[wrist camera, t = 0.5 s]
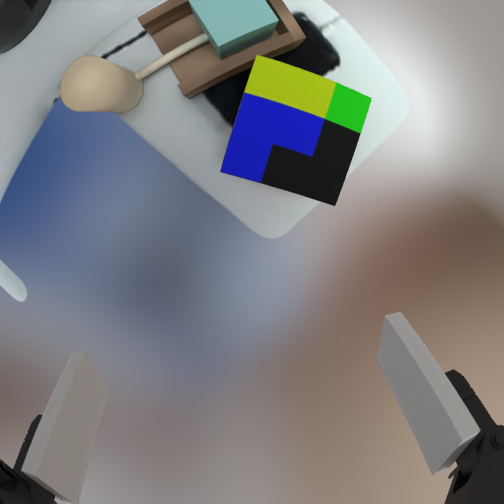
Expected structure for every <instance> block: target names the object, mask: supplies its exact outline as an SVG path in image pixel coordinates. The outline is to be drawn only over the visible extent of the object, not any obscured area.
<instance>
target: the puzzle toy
mask: <svg viewBox="0 0 504 504" xmlns="http://www.w3.org/2000/svg"><path fill="white" fill-rule="evenodd" d="M371 99H372V98H370V97H368V96H366V95H363V94H361V93H359V92H357V91H355V90H352V89H350V88H348V87H346V86H343V85H341V84H339V83H336V82H334V81H331V80H329V79H326V78H324V77H321V76H319V75H316V74H313V73H311V72H308V71H305V70H303V69H300V68H297V67H294V66H291V65H288V64H285V63H282V62H279V61H276V60H273V59H269V58H266V57H263V56H259V55H257V56H256V59H255V61H254V64H253V67H252V70H251V73H250V76H249V79H248V82H247V85H246V88H245V91H244V94H243V97H242V100H241V103H240V106H239V110H238V113H237V116H236V119H235V122H234V126H233V129H232V132H231V136H230V139H229V142H228V146H227V149H226V153H225V156H224V160H223V163H222V167H221V171H220V172H222V173H226V174H229V175H233V176H237V177H241V178H244V179H248V180H251V181H255V182H258V183H262V184H265V185H269V186H272V187H276V188H279V189H282V190H286V191H289V192H292V193H296V194H299V195H302V196H305V197H308V198H312V199H315V200H318V201H321V202H324V203H327V204H330V205H333V206H335V205H336V202H337V200H338V197H339V194H340V191H341V189H342V186H343V183H344V180H345V178H346V175H347V172H348V169H349V166H350V163H351V161H352V158H353V155H354V152H355V149H356V146H357V143H358V140H359V137H360V134H361V131H362V128H363V125H364V122H365V119H366V115H367V112H368V109H369V106H370V103H371Z"/></svg>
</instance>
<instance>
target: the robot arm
mask: <svg viewBox="0 0 504 504" xmlns="http://www.w3.org/2000/svg"><path fill="white" fill-rule="evenodd" d="M50 1H51V0H0V53H3V52H5V51H8V50H9V49H11V48H13V47H14V46H16V45H17V44H18V43H19V42H21V41H22V40H23V39H24V38H25V37H26V36H27V35H28V34H29V33H30V32H31V30H32V29H33V28H34V27H35V26H36V24H37V23H38V22H39V20H40V19H41V17H42V16H43V14H44V12H45V11H46V9H47V7H48V5H49V3H50ZM377 361H378V363H379V365H380V367H381V369H382V371H383V373H384V375H385V377H386V379H387V381H388V382H389V385H390V387H391V389H392V391H393V392H394V394H395V397H396V398H397V401H398V403H399V405H400V407H401V409H402V411H403V413H404V415H405V417H406V419H407V421H408V423H409V425H410V427H411V429H412V432H413V433H414V435H415V437H416V440H417V442H418V444H419V446H420V449H421V451H422V453H423V455H424V458H425V460H426V462H427V464H428V466H429V469H430V471H431V473H432V475H434V474H437V473H439V472H441V471H443V470H445V469H447V468H449V467H450V466H451V465H452V464H453V463H454V462H455V461H456V463H457V465H458V466H457V467H456V468H455V469H454V470H453V471H452V472H451V473H450V475H449V477H448V478H451V477H452V476H453V475H454V477H453V480H452V484H451V486H450V490H449V492H448V495H447V498H446V501H445V503H444V504H504V426H502V425H497V424H496V423H495V422H494V421H493V419H492V418H491V417H490V415H489V413H488V412H487V410H486V408H485V407H484V405H483V404H482V402H481V401H480V399H479V398H478V396H477V395H475V392H474V390H473V389H472V388H470V385H469V383H468V382H467V381H466V379H465V378H464V376H462V375H461V374H460V373H458V372H457V371H455V370H454V369H453V370H451V371H448V372H446V373H444V372H443V370H442V369H441V367H440V366H439V365H438V363H437V362H436V360H435V359H434V357H433V356H432V354H431V353H430V352H429V350H428V349H427V347H426V346H425V345H424V343H423V342H422V341H421V339H420V338H419V336H418V335H417V333H416V332H415V331H414V329H413V328H412V327H411V325H410V324H409V323H408V321H407V320H406V319H405V317H404V316H403V315H402V313H401V312H398V313H394V314H389V315H386V316H385V320H384V326H383V332H382V337H381V343H380V348H379V353H378V358H377ZM108 394H109V389H108V388H107V386H106V384H105V383H104V381H103V380H102V378H101V376H100V375H99V373H98V371H97V369H96V368H95V366H94V364H93V363H92V361H91V359H90V357H89V355H88V353H87V352H86V351H73V353H72V355H71V357H70V359H69V361H68V363H67V365H66V367H65V369H64V371H63V373H62V375H61V377H60V379H59V381H58V383H57V385H56V387H55V389H54V391H53V394H52V396H51V398H50V400H49V402H48V405H47V407H46V409H45V411H44V414H43V415H38V416H37V417H36V418H35V419H34V421H33V422H32V423H31V426H30V428H29V430H28V434H27V435H26V437H25V442H23V445H22V447H21V450H20V452H19V455H18V457H17V460H16V463H15V466H14V468H13V469H11V468H10V467H9V466H8V465H7V464H5V463H4V462H3V461H2V460H0V504H57V503H56V502H55V501H54V499H55V496H56V497H57V498H59V499H60V500H62V501H63V502H67V503H70V504H79V499H80V495H81V490H82V486H83V482H84V478H85V474H86V470H87V466H88V462H89V458H90V454H91V451H92V447H93V443H94V440H95V436H96V433H97V430H98V426H99V423H100V419H101V416H102V413H103V410H104V407H105V404H106V400H107V397H108Z"/></svg>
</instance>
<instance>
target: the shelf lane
mask: <svg viewBox="0 0 504 504" xmlns="http://www.w3.org/2000/svg"><path fill="white" fill-rule="evenodd" d="M266 2H267V3H268V5H269V6H270V8H271V9H272V11H273V12H274V14H275V15H276V17H277V18H278V20H279V21H278V23H277V25H276V27H275V29H274V32H273V34H272V36H271V37H270V38H268V39H265V40H263V41H261V42H258V43H256V44H254V45H251V46H249V47H247V48H245V49H243V50H240V51H238V52H236V53H234V54H232V55H230V56H228V57H226V58H224V59H222V60H221V59H220V58H219V56H218V54H217V53H216V51H215V49H214V48H213V46H212V45H211V43H210V41H209V40H208V41H207V42H205V43H203V44H201V45H199V46H197V47H195V48H193V49H191V50H190V51H188V52H186V53H184V54H182V55H180V56H179V57H177V58H175V59H173V60H172V61H170V62H168V64H169V65H170V67H171V69H172V70H173V72H174V74H175V75H176V77H177V79H178V80H179V82H180V84H179V85H178V87H179V88H180V90H181V92H182V93H183V95H184V96H186V97H187V98H189V99H191V98H193V97H194V96H196V95H198V94H200V93H202V92H203V91H205V90H207V89H209V88H211V87H213V86H214V85H216V84H218V83H220V82H222V81H224V80H226V79H228V78H230V77H232V76H234V75H236V74H238V73H240V72H242V71H244V70H246V69H248V68H251V67H253V64H254V61H255V59H256V56H257V55H259V56H263V57H266V58H269V59H271V58H273V57H275V56H278V55H280V54H282V53H285V52H287V51H290V50H292V49H295V48H297V47H298V46H299V45H300V44H301V43H302V41H303V40H304V39H305V38H306V37H305V35H304V33H303V32H302V30H301V28H300V27H299V25H298V24H297V22H296V20H295V19H294V17H293V16H292V14H291V13H290V11H289V10H288V8H287V7H286V5H285V4H284V2H283V1H282V0H266ZM137 19H138V20H139V22H140V24H141V25H142V27H143V28H144V29H145V30H146V31H147V32H148V33H149V34H150V35H151V36H152V37H153V39H154V41H155V42H156V44H157V45H158V47H159V49H160V50H161V52H162V54H163V55H165V54H167V53H169V52H170V51H172V50H174V49H176V48H177V47H179V46H181V45H183V44H185V43H186V42H188V41H190V40H192V39H194V38H196V37H198V36H200V35H202V34H204V32H203V30H202V29H201V27H200V26H199V24H198V23H197V21H196V20H195V17H194V14H193V12H192V9H191V6H190V3H189V1H188V0H168V1H166V2H164V3H163V4H161V5H159V6H157V7H155V8H154V9H152V10H150V11H149V12H147V13H145V14H143V15H142V16H140V17H139V18H137Z"/></svg>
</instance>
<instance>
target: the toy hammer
mask: <svg viewBox="0 0 504 504" xmlns="http://www.w3.org/2000/svg"><path fill="white" fill-rule="evenodd" d="M188 1H189V3H190V6H191V9H192V12H193V14H194V17H195V20H196V21H197V23H198V24H199V26H200V27H201V29H202V30H203V32H204V34H202V35H200V36H198V37H196V38H194V39H192V40H190V41H188V42H186V43H185V44H183V45H181V46H179V47H177V48H176V49H174V50H172V51H170V52H169V53H167V54H165V55H163V56H162V57H160V58H159V59H157V60H155V61H154V62H152V63H150V64H149V65H147V66H146V67H144V68H143V69H141V70H140V71H138V72H137V73H134V72H132V71H129V70H127V69H125V68H123V67H121V66H119V65H116V64H114V63H112V62H110V61H107V60H105V59H103V58H101V57H98V56H95V55H87V56H83V57H81V58H78V59H77V60H75V61H74V62H73V63H72V64H71V65H70V66H69V67H68V68H67V69H66V71H65V73H64V74H63V77H62V80H61V84H60V95H61V98H62V101H63V102H64V104H65V105H66V106H67V107H68V108H70V109H71V110H74V111H96V112H118V113H122V112H127V111H129V110H131V109H133V108H134V107H135V106H136V105H137V104H138V103H139V102H140V100H141V98H142V95H143V90H144V87H143V82H142V80H141V79H143V78H144V77H146V76H147V75H149V74H150V73H152V72H154V71H155V70H157V69H158V68H160V67H162V66H163V65H165V64H167V63H168V62H170V61H172V60H173V59H175V58H177V57H179V56H180V55H182V54H184V53H186V52H188V51H190V50H191V49H193V48H195V47H197V46H199V45H201V44H203V43H205V42H207V41H208V40H209V41H210V43H211V45H212V46H213V48H214V49H215V51H216V53H217V54H218V56H219V58H220V59H221V60H222V59H224V58H226V57H228V56H230V55H232V54H234V53H236V52H238V51H240V50H243V49H245V48H247V47H249V46H251V45H254V44H256V43H258V42H261V41H263V40H265V39H268V38H270V37H271V36H272V34H273V32H274V29H275V27H276V25H277V23H278V21H279V20H278V18H277V17H276V15H275V14H274V12H273V11H272V9H271V8H270V6H269V5H268V3H267V2H266V0H188Z"/></svg>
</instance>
